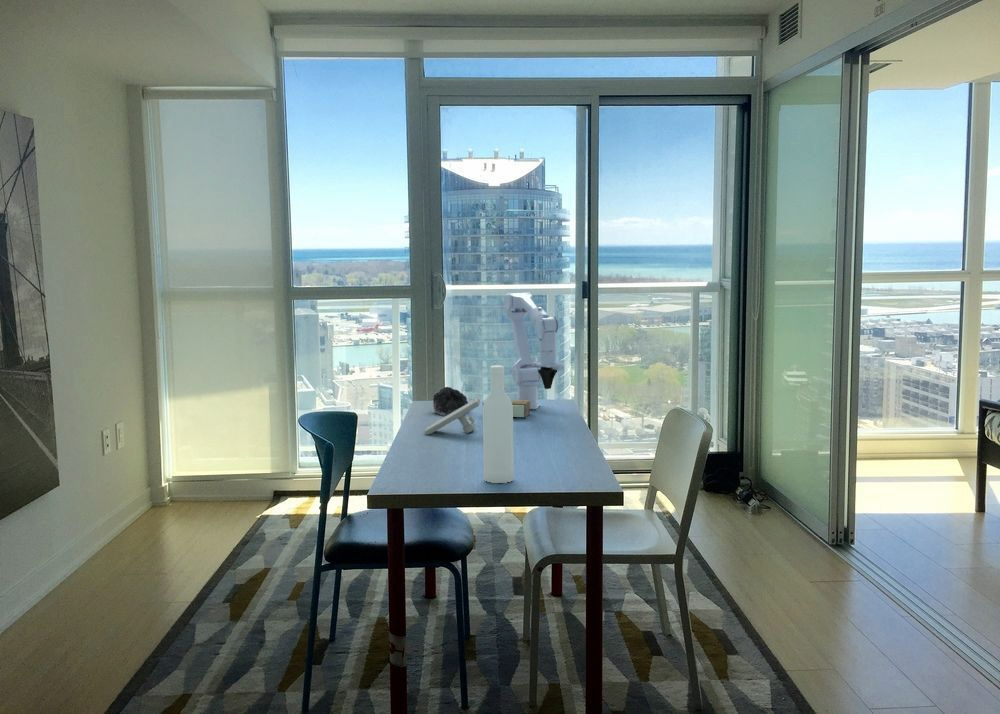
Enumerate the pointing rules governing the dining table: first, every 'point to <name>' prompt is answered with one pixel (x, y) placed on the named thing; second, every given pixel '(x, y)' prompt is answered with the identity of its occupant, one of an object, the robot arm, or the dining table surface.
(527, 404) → the cabinet
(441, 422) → the door handle
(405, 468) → the dining table surface
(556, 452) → the dining table surface
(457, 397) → the crystal cluster
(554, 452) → the dining table surface
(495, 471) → the bottle
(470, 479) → the dining table surface
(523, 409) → the door
